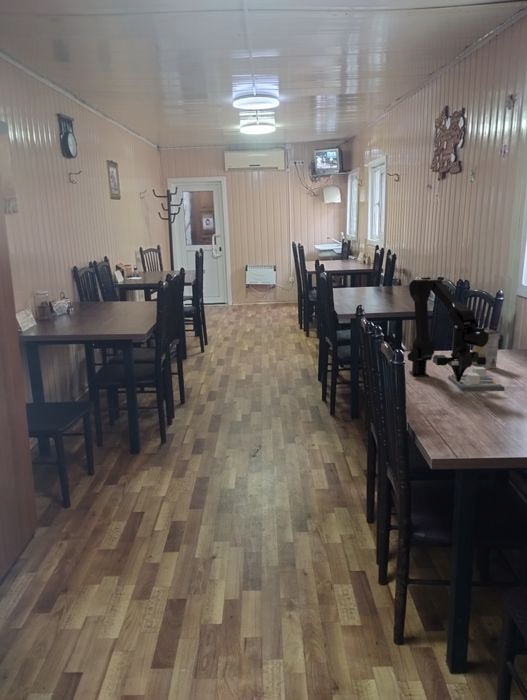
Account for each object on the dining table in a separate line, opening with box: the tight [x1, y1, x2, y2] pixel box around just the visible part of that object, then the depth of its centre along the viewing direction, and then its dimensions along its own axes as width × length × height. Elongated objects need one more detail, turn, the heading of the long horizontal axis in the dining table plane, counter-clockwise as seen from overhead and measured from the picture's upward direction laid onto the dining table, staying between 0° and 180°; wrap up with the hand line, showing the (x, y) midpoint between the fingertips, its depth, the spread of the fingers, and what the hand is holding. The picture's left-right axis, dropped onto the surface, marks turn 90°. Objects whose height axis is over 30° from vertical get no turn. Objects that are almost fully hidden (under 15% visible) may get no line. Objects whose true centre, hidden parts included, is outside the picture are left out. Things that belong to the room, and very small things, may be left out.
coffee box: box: [471, 327, 500, 370], centre depth 246 cm, size 9×6×16 cm
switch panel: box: [447, 373, 505, 392], centre depth 221 cm, size 16×16×2 cm
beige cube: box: [465, 372, 480, 384], centre depth 216 cm, size 4×4×4 cm
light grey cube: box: [471, 366, 487, 378], centre depth 225 cm, size 4×4×4 cm
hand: (457, 381), depth 216 cm, fingers closed
